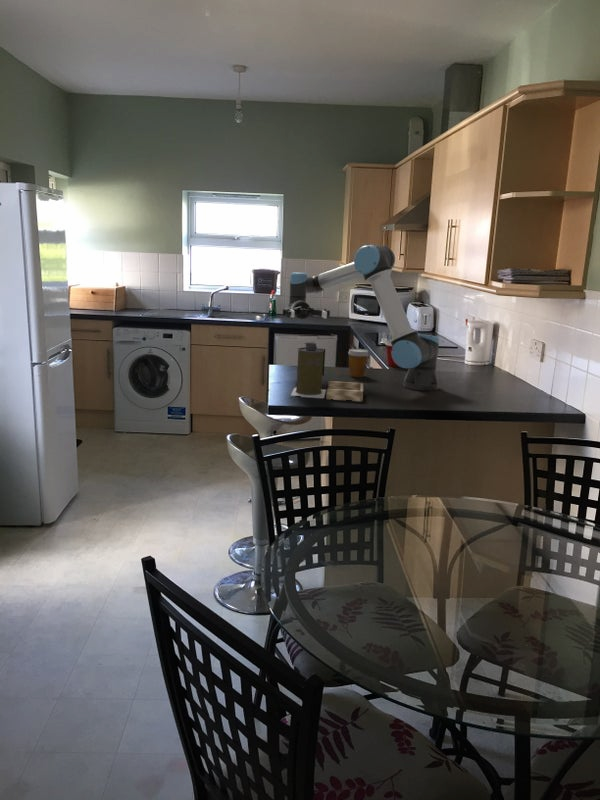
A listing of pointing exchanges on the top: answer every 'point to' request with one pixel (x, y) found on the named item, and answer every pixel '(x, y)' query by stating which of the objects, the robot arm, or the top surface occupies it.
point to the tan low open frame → (345, 391)
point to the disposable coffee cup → (357, 362)
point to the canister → (310, 369)
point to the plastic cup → (389, 356)
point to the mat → (309, 395)
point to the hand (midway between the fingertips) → (309, 314)
